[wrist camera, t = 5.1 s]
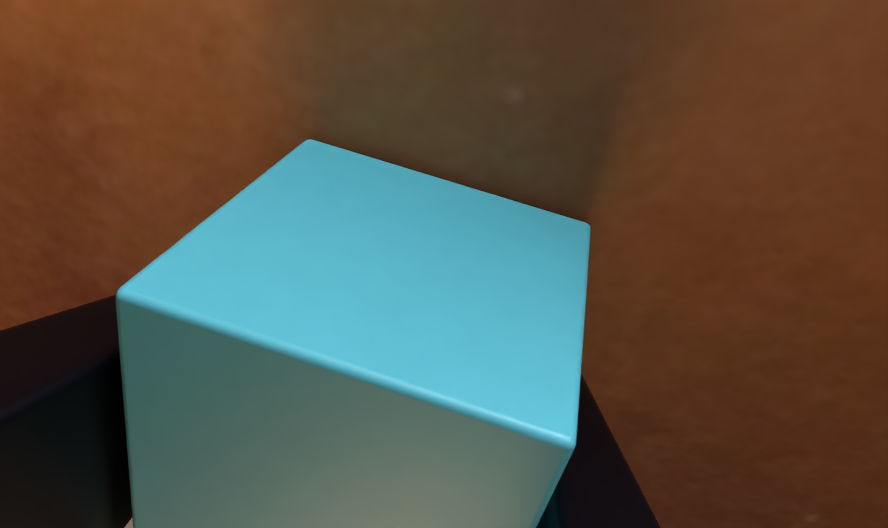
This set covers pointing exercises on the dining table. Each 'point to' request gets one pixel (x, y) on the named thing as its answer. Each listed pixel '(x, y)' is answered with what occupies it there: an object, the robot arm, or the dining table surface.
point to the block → (354, 355)
